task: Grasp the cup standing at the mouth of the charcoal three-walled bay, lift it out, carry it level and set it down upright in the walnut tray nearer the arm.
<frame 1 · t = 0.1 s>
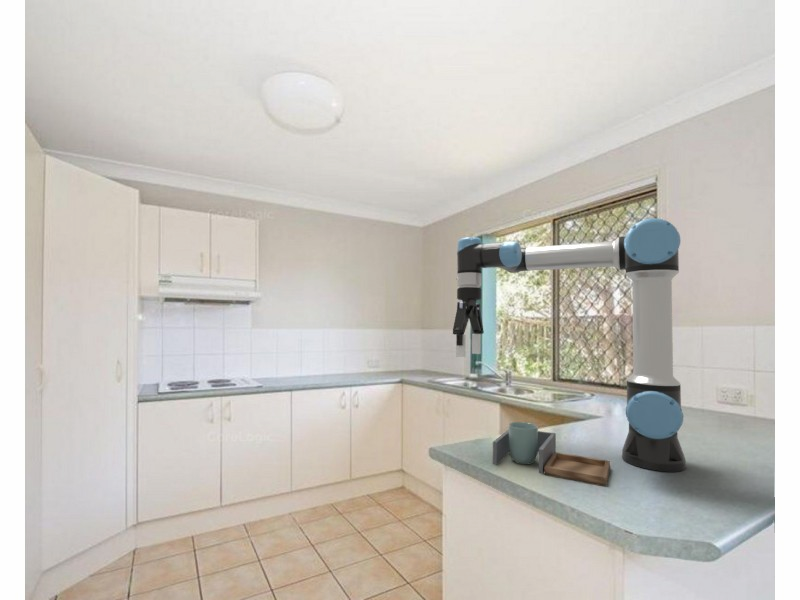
hand: (468, 355, 130), 28 cm above the countertop, fingers open, 13 cm apart
bay: (524, 459, 117), on the countertop
cup: (523, 462, 115), on the countertop
tray: (577, 471, 108), on the countertop
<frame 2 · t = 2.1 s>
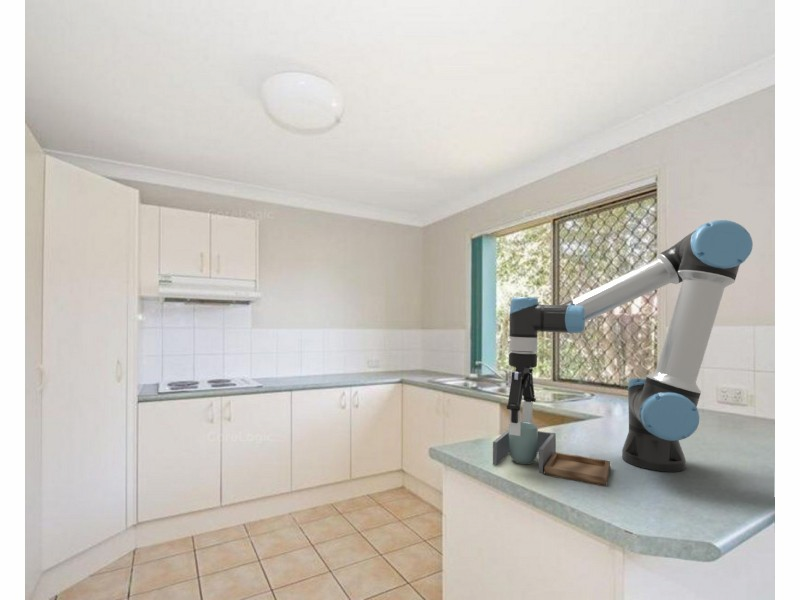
hand: (521, 429, 116), 9 cm above the countertop, fingers open, 13 cm apart
nothing on the countertop moved.
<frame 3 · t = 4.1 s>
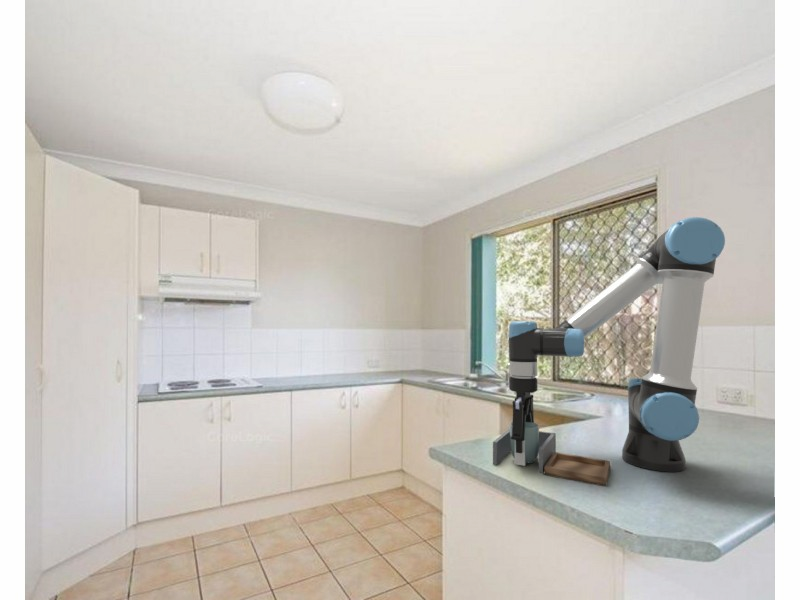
hand: (524, 459, 115), 1 cm above the countertop, fingers closed on cup, 8 cm apart
cup: (524, 461, 115), on the countertop, touching gripper
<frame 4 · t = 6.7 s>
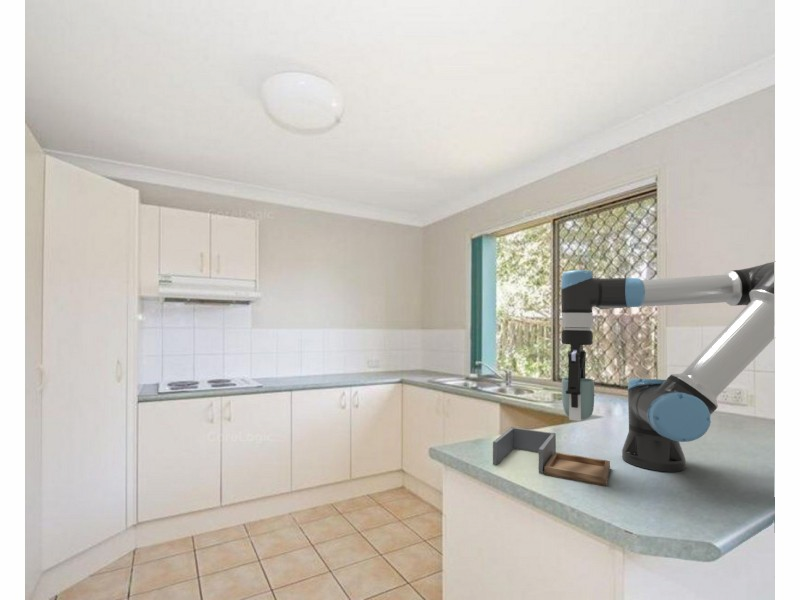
hand: (577, 416, 109), 14 cm above the countertop, fingers closed on cup, 8 cm apart
cup: (578, 418, 109), point 14 cm above the countertop, touching gripper
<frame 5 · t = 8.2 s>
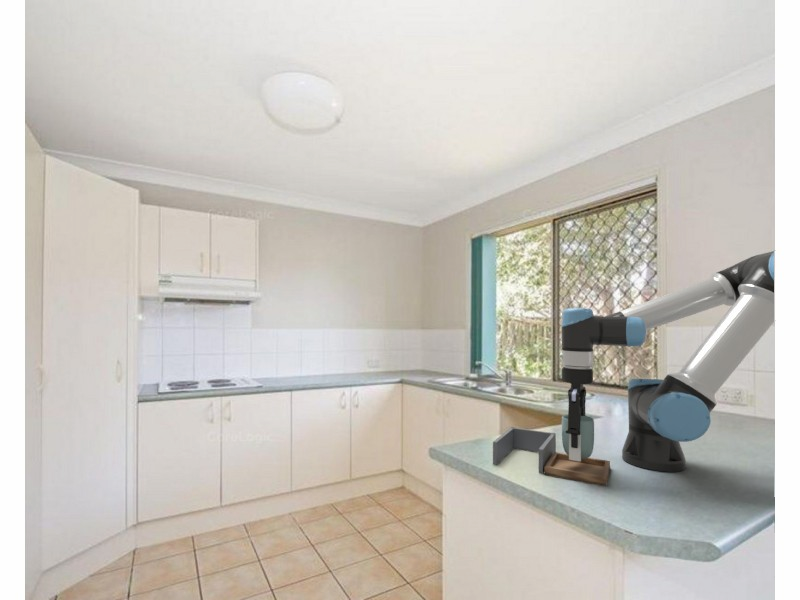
hand: (577, 455, 108), 4 cm above the countertop, fingers closed on cup, 8 cm apart
cup: (577, 457, 108), point 4 cm above the countertop, touching gripper
when the fingers open (2 cm above the countertop, at t = 9.2 s): cup stays where it is, resting on tray.
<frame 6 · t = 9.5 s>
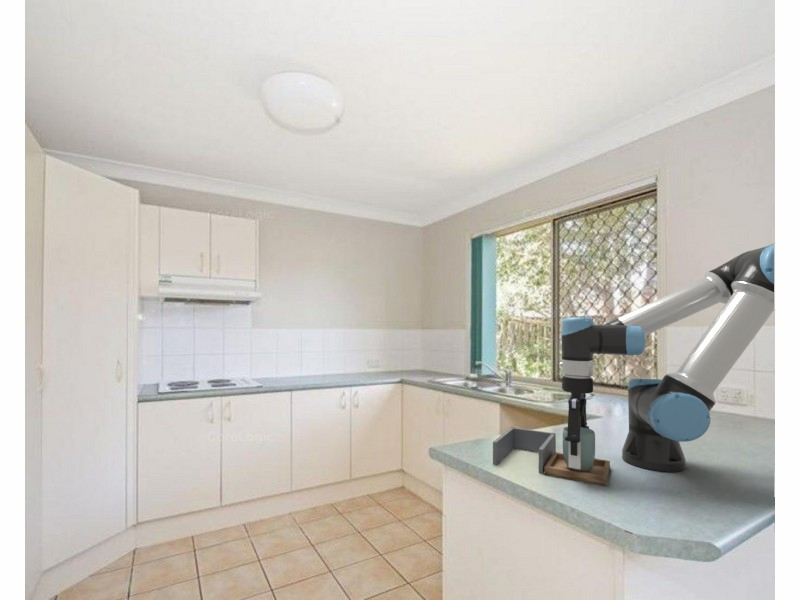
hand: (577, 461, 108), 3 cm above the countertop, fingers open, 11 cm apart
cup: (578, 470, 108), resting on tray
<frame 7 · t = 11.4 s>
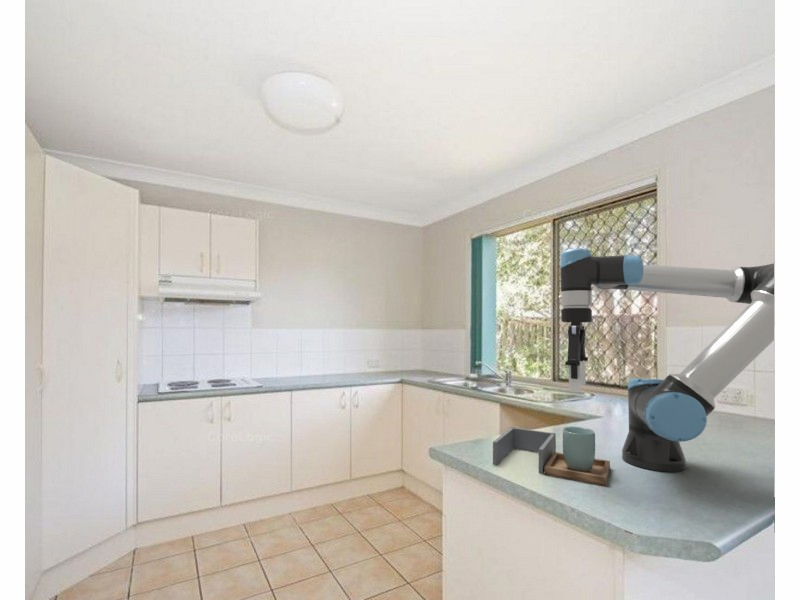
hand: (577, 388, 110), 21 cm above the countertop, fingers open, 13 cm apart
nothing on the countertop moved.
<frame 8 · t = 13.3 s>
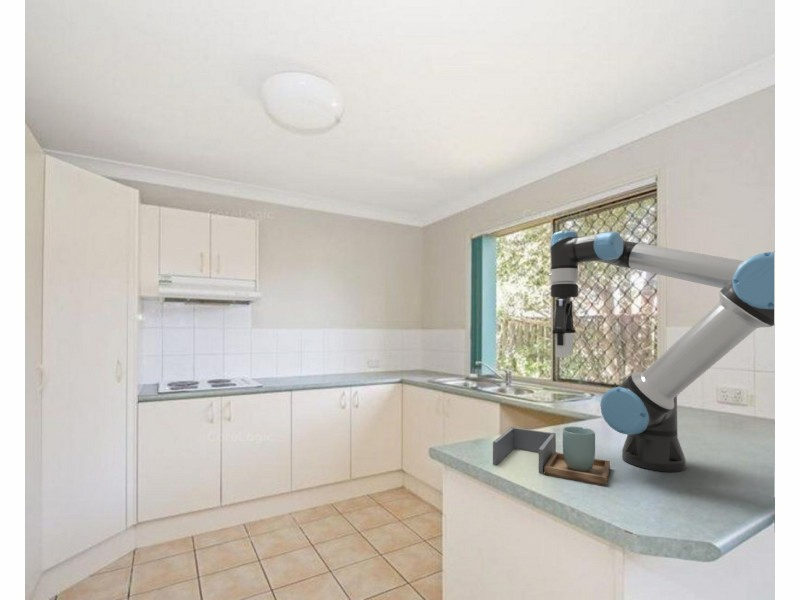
hand: (564, 355, 123), 29 cm above the countertop, fingers open, 13 cm apart
nothing on the countertop moved.
at the end: cup inside the target area on the tray (0.2 cm from its centre), point 0.4 cm above the tray's base; cup tilted 0°; the gripper is holding nothing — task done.
